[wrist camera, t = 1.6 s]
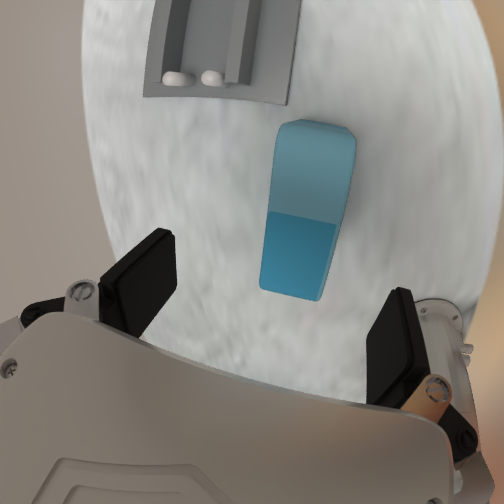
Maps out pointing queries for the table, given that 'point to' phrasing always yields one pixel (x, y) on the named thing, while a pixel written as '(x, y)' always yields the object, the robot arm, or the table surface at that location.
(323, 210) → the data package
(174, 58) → the tray
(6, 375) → the robot arm
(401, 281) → the table surface
